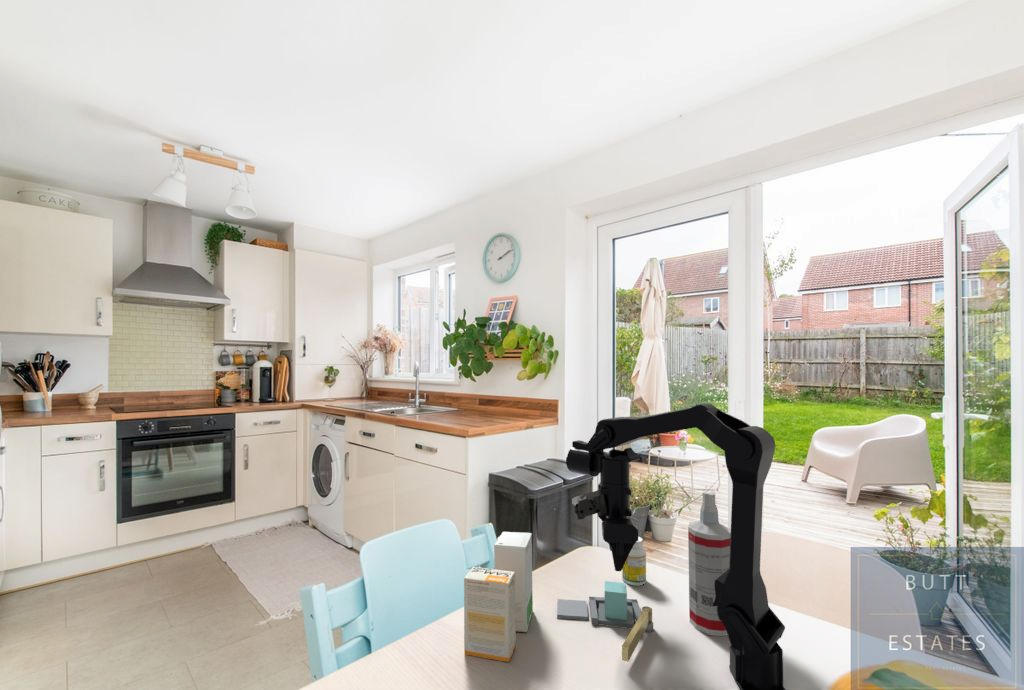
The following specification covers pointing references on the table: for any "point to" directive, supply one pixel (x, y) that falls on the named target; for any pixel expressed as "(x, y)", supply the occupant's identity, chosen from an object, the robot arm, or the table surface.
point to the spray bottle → (707, 566)
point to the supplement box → (489, 613)
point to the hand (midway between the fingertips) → (615, 560)
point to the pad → (572, 609)
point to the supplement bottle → (635, 565)
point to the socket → (630, 602)
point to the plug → (615, 607)
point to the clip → (636, 633)
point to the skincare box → (517, 572)
